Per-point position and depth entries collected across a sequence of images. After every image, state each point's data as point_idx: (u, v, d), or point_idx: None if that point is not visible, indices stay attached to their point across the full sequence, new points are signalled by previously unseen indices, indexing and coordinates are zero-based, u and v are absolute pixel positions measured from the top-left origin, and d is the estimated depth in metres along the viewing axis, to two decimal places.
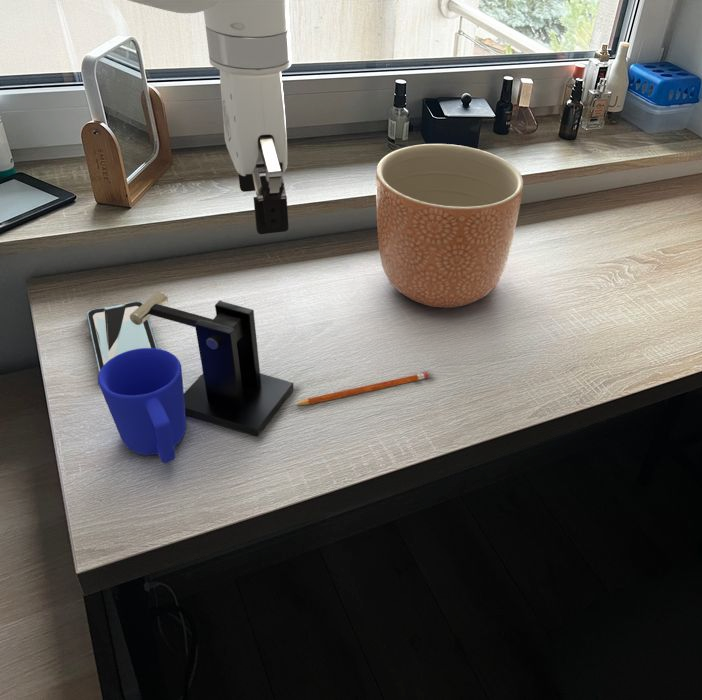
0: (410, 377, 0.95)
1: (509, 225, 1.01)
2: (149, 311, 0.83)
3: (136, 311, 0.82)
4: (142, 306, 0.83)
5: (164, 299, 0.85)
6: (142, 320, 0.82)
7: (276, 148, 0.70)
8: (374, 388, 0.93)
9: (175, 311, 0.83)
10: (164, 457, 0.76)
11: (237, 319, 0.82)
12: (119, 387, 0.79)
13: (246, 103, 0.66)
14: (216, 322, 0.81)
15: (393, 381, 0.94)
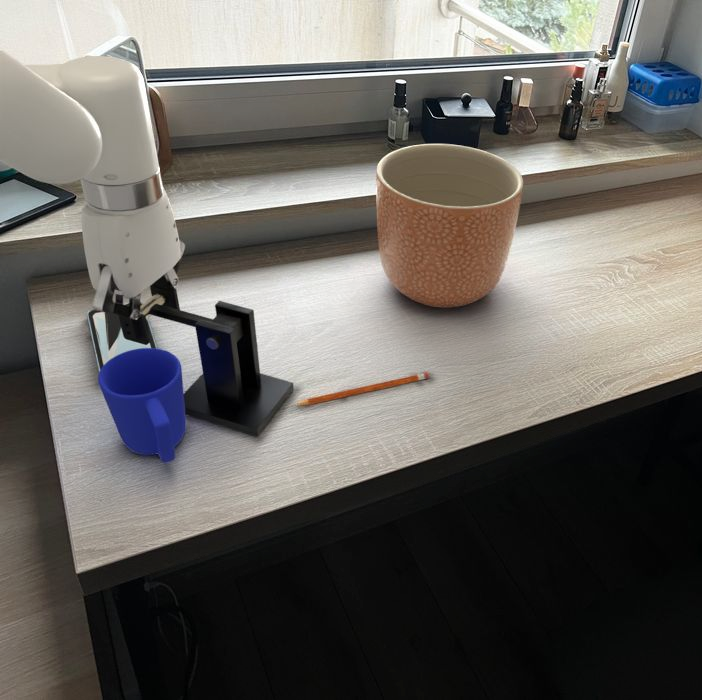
0: (410, 377, 0.95)
1: (509, 225, 1.01)
2: (149, 311, 0.83)
3: None
4: (142, 306, 0.83)
5: (164, 299, 0.85)
6: None
7: (114, 277, 0.75)
8: (374, 388, 0.93)
9: (175, 311, 0.83)
10: (164, 457, 0.76)
11: (237, 319, 0.82)
12: (119, 387, 0.79)
13: (87, 234, 0.73)
14: (216, 322, 0.81)
15: (393, 381, 0.94)
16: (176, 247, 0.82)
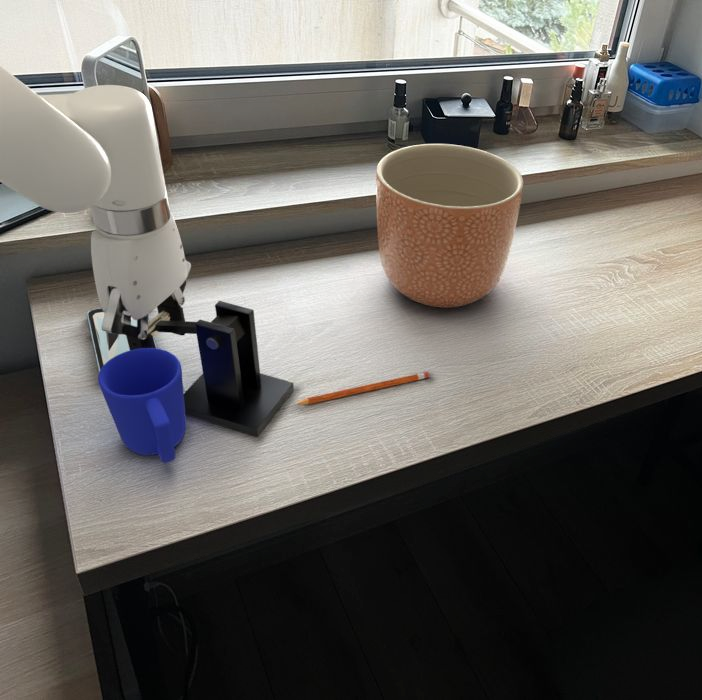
0: (410, 376, 0.95)
1: (509, 225, 1.01)
2: (154, 328, 0.84)
3: None
4: None
5: (169, 315, 0.87)
6: None
7: (123, 299, 0.77)
8: (374, 387, 0.93)
9: (177, 323, 0.84)
10: (164, 457, 0.76)
11: (234, 317, 0.82)
12: (119, 387, 0.79)
13: (96, 257, 0.75)
14: None
15: (393, 380, 0.94)
16: (182, 267, 0.84)
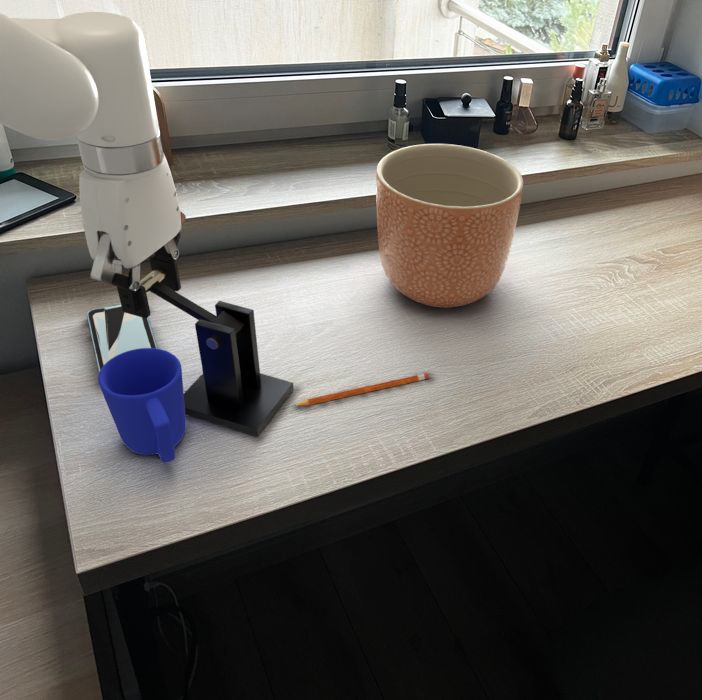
0: (410, 378, 0.95)
1: (509, 225, 1.01)
2: (150, 288, 0.81)
3: None
4: (144, 282, 0.80)
5: (165, 277, 0.83)
6: None
7: (113, 245, 0.73)
8: (374, 389, 0.93)
9: (177, 296, 0.81)
10: (164, 457, 0.76)
11: (240, 323, 0.82)
12: (119, 387, 0.79)
13: (84, 199, 0.71)
14: (220, 322, 0.81)
15: (393, 382, 0.94)
16: (177, 217, 0.80)
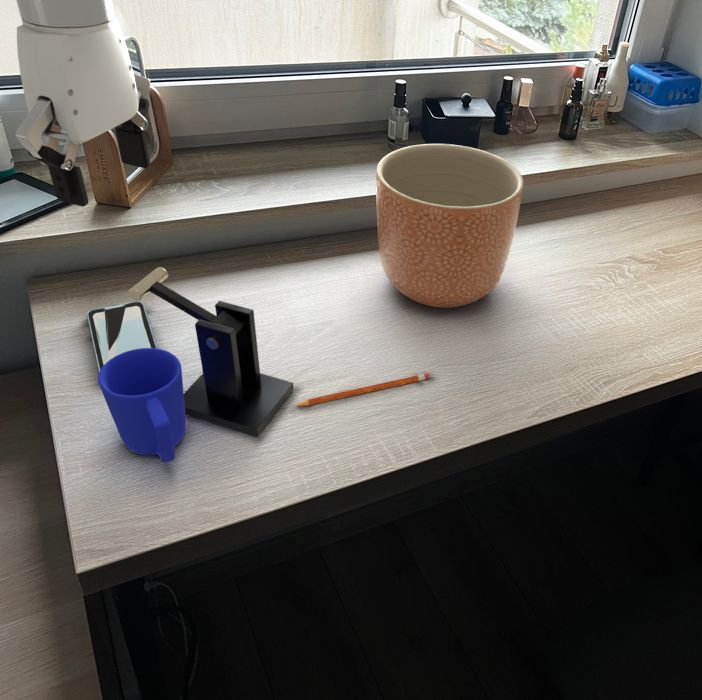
0: (411, 378, 0.95)
1: (509, 225, 1.01)
2: (150, 289, 0.81)
3: (138, 287, 0.80)
4: (144, 282, 0.80)
5: (165, 277, 0.83)
6: (141, 297, 0.80)
7: (57, 114, 0.65)
8: (374, 389, 0.93)
9: (176, 296, 0.81)
10: (164, 457, 0.76)
11: (240, 323, 0.82)
12: (119, 387, 0.79)
13: (23, 58, 0.63)
14: (220, 322, 0.81)
15: (393, 382, 0.94)
16: (133, 95, 0.72)
